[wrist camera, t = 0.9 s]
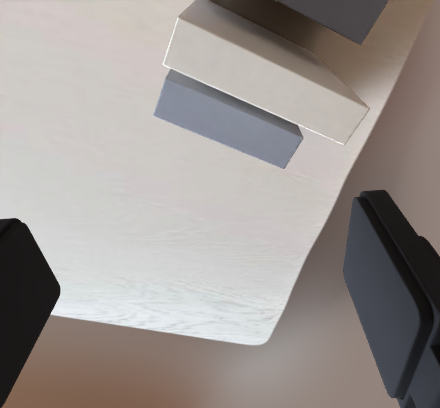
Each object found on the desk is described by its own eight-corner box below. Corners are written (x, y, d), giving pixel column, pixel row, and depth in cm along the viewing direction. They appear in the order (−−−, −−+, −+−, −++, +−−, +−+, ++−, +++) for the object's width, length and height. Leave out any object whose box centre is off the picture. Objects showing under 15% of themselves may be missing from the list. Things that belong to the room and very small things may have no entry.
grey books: (225, -81, 25) (224, -101, 18) (348, -12, 28) (391, -5, 20) (169, 82, 32) (152, 116, 25) (272, 127, 35) (284, 169, 27)
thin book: (199, -5, 28) (177, 15, 16) (312, 52, 31) (371, 108, 18) (189, 25, 29) (162, 65, 17) (299, 77, 32) (344, 146, 19)
